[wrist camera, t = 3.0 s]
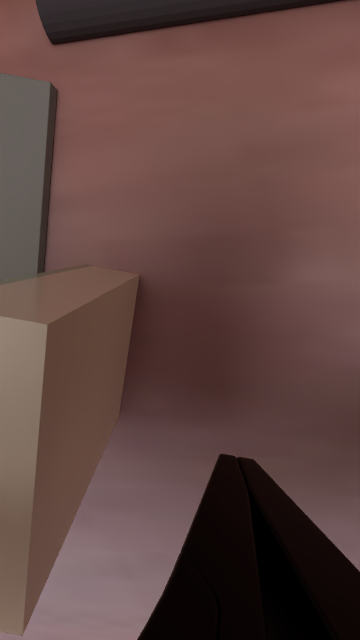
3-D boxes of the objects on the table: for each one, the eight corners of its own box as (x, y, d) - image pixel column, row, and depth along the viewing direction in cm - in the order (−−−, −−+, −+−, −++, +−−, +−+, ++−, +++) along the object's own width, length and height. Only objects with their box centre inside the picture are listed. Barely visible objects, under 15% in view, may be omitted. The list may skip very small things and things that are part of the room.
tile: (139, 274, 14) (47, 324, 5) (118, 416, 16) (22, 635, 7) (85, 264, 14) (-97, 297, 5) (70, 407, 16) (-88, 615, 7)
